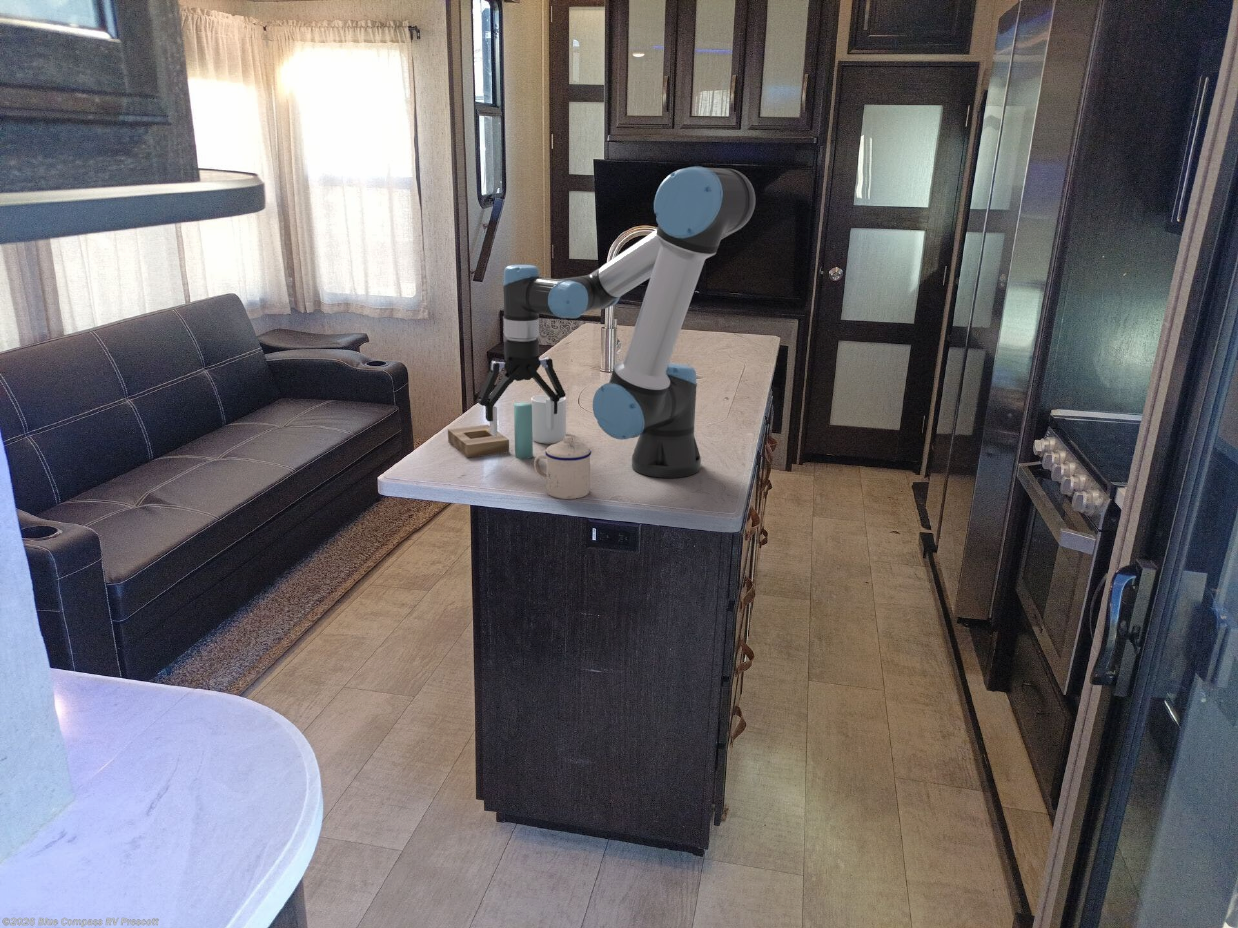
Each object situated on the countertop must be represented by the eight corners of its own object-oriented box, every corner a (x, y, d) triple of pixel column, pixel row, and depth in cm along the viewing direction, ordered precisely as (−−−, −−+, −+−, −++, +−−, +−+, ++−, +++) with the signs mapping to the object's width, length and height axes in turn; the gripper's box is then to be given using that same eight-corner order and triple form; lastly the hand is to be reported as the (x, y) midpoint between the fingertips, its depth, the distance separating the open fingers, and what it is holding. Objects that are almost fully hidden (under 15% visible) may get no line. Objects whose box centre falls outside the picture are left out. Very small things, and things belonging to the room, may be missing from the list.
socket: (509, 452, 201) (508, 439, 200) (467, 457, 196) (466, 445, 195) (488, 436, 213) (487, 424, 212) (448, 441, 208) (447, 429, 207)
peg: (535, 457, 198) (534, 405, 194) (519, 459, 196) (517, 407, 192) (528, 452, 201) (527, 401, 197) (512, 454, 199) (511, 403, 195)
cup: (525, 441, 209) (524, 400, 206) (549, 428, 220) (548, 389, 217) (556, 445, 206) (555, 404, 203) (578, 433, 217) (578, 393, 214)
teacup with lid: (597, 488, 179) (597, 433, 175) (580, 502, 171) (580, 445, 167) (543, 480, 183) (543, 427, 179) (525, 494, 175) (524, 438, 171)
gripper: (566, 331, 199) (565, 421, 206) (460, 338, 187) (463, 433, 194) (580, 337, 193) (579, 429, 199) (472, 344, 181) (474, 442, 188)
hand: (522, 431), depth 197 cm, fingers open, 13 cm apart
